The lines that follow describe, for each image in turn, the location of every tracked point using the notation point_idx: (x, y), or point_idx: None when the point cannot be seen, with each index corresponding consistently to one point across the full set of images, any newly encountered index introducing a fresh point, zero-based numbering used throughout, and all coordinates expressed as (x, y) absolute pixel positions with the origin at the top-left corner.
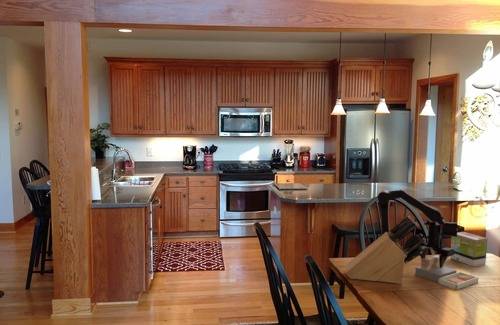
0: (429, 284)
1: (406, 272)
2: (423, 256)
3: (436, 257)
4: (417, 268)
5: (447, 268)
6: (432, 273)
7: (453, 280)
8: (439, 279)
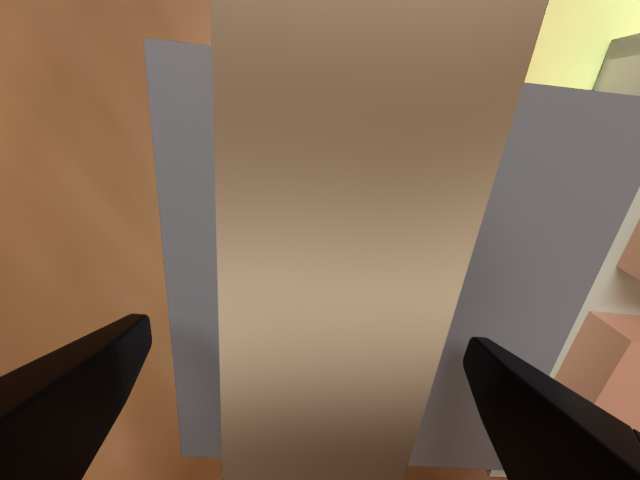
0: (419, 476)
1: (131, 401)
2: (58, 464)
3: (380, 408)
4: (212, 451)
5: (514, 154)
6: (411, 458)
7: (628, 418)
8: (498, 470)
